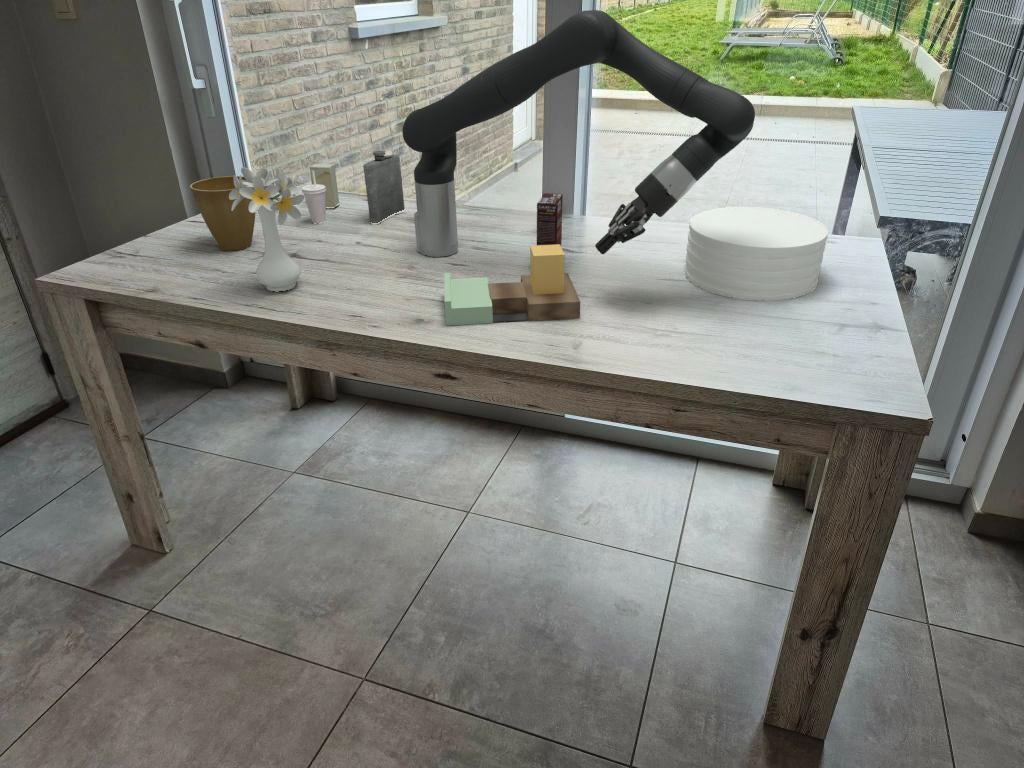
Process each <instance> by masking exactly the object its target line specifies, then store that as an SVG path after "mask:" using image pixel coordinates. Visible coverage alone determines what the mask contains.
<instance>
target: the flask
mask: <svg viewBox="0 0 1024 768" xmlns="http://www.w3.org/2000/svg"><path fill="white" fill-rule="evenodd" d="M372 155H373V157H374V158H373V160H370V161H368V162H366V163H364V164H362V165H363V166H362V167H363V174H364V175H363V176H364V182H365V191H366V197H367V207H368V215H369V222H372V223H378V222H380V221H382V220H383V219H385V218H387V217H388V216H390V215H392V214H394V213H397V212H399V211H402V210H404V209H405V200H404V188H403V179H402V169H401V158H400V157H401V156H400V154H388V155H387V154H386V151H385V150H374V151H373V152H372Z"/></svg>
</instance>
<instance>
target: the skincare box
mask: <svg viewBox="0 0 1024 768" xmlns="http://www.w3.org/2000/svg"><path fill="white" fill-rule="evenodd" d="M312 171H314V173H315V180H316V184H320V185H324V186H325V187H326V191H325V205H326V207H335V206H336V205H337V204H338V203H339V204H340V198H339V191H338V182H337V181H338V179H337V174H336V172H337V171H336V165H335V163H333V164H331V163H313V164H312V165H310V166H309V172H310V173H309V174H310V182H311V185H314V181H313V174H312Z"/></svg>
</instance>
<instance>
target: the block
mask: <svg viewBox="0 0 1024 768" xmlns="http://www.w3.org/2000/svg"><path fill="white" fill-rule="evenodd" d="M529 253H530V254H529V255H530V256H529V259H530V262H529V265H530V266H529V267H530V268H529V269H530V270H529V272H530V273H529V275H530V284H531V287H532V291H533V294H534V295H540V294H559V293H564V273H565V259H566V258H565V257H566V256H565V255H566V254H565V253H564V250H563V248H562V244H561V245H560V244H557V245H537V244H536V245H530V246H529Z"/></svg>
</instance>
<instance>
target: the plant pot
mask: <svg viewBox="0 0 1024 768" xmlns="http://www.w3.org/2000/svg"><path fill="white" fill-rule="evenodd" d="M236 176H237V178H238V180H239V176H240V175H236ZM233 178H234V175H226V176H216V177H211V178H205V179H201V180H198V181H195V182H193V183H191V184H190V185H189V188H190V190H191V193H192V197H193V198H194V200H195V203H196V204H195V205H196V206H197V208H198V211H199V212H200V213H199V214H200V215H201V217H202V219H203V220H204V222H205V224H206V227H207V228H208V230H209V232H210V234H211V235H212V237H213V239H214V241H215V242H216V243H217V245H218V246H219V248H220V250H223V251H228V252H229V251H232V252H233V251H241V249H242V250H244V248H245V249H247V247H248V248H250V247H251V246H252V242H253V237H254V235H253V234H254V231H255V223H256V222H255V221H256V212H255V213H251V212H249V204H250V202H251V201H252V199H248V198H245V197H244V198H243V199H242V200H241V201H240V202H239V203H238V205H237V206H236V207H235V209H234V210H233V211H232V210H231V209H232V205H233V203H234V201H235V200H237V199H234V200H230V199H229V194H230V192H231V191H232V190H238V189H237V188H236V187H235V185H234V181H233ZM241 178H242V180H246V179H245V177H244V176H243V175H241ZM246 181H247V180H246ZM244 188H246V187H244Z"/></svg>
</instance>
